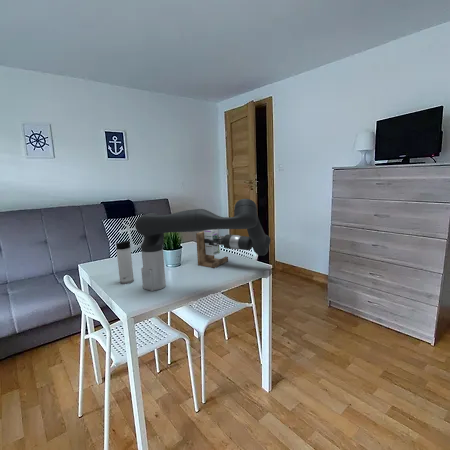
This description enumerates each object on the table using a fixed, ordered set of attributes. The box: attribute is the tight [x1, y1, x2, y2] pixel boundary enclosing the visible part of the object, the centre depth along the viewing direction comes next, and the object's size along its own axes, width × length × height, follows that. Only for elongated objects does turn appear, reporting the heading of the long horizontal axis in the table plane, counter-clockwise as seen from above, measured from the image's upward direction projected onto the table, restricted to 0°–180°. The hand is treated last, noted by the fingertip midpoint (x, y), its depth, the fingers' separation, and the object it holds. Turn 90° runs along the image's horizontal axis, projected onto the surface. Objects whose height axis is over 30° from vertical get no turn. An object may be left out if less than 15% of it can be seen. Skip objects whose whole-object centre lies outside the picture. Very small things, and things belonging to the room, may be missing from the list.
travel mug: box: [115, 240, 135, 285], centre depth 132 cm, size 6×7×20 cm
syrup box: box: [204, 229, 221, 257], centre depth 155 cm, size 6×6×14 cm
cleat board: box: [195, 231, 229, 269], centre depth 156 cm, size 14×11×18 cm
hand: (208, 239), depth 156 cm, fingers closed on syrup box, 6 cm apart
